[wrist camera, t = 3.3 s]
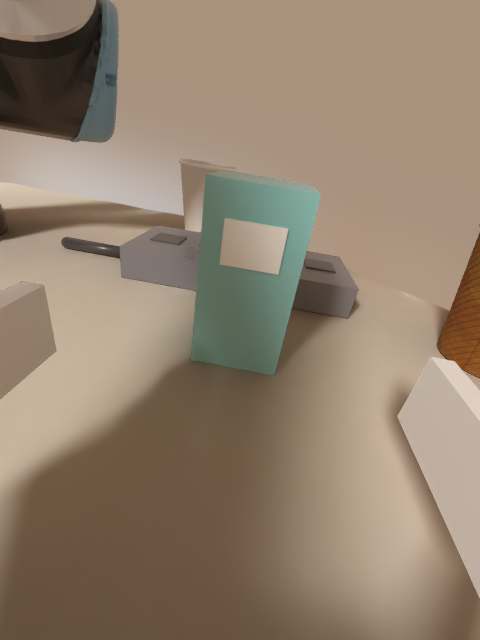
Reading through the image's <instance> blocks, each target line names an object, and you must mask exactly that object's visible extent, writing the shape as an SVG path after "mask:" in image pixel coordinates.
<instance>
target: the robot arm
mask: <svg viewBox="0 0 480 640" xmlns="http://www.w3.org/2000/svg"><path fill="white" fill-rule="evenodd" d="M117 69H118V11H117V8H116V6H115V4H113V3H112V2H111V1H109V0H0V129H4V130H10V131H16V132H22V133H28V134H34V135H40V136H46V137H53V138H58V139H64V140H70V141H72V142H79V141H88V142H99V143H101V142H106V141H108V140H109V139H110V138H111V137H112V135H113V133H114V128H115V119H116V103H117ZM6 229H7V223H6V219H5V215H4V211H3V208H2V206H1V204H0V234H1V233H3V232H4V231H6ZM56 351H57V350H56V345H55V340H54V335H53V329H52V324H51V319H50V313H49V308H48V303H47V298H46V292H45V287H44V285H41V284H35V283H30V282H25V281H22V282H20V283H18V284H16V285H13V286H11V287H9V288H7V289H5V290H3V291H1V292H0V399H1V398H3V397H4V396H5V395H6V394H7V393H8V392H9V391H11V390H12V389H13V388H14V387H15V386H16V385H18V384H19V383H20V382H21V381H22V380H23V379H25V378H26V377H27V376H28V375H29V374H30V373H31V372H33V371H34V370H35V369H36V368H37V367H38V366H40V365H41V364H42V363H43V362H44V361H45V360H47V359H48V358H49V357H50V356H51V355H52V354H54V353H55V352H56ZM397 417H398V419H399V422H400V424H401V426H402V428H403V430H404V433H405V435H406V437H407V439H408V441H409V444H410V446H411V448H412V450H413V453H414V455H415V457H416V459H417V461H418V464H419V466H420V468H421V470H422V472H423V475H424V477H425V479H426V481H427V483H428V486H429V488H430V490H431V492H432V495H433V497H434V499H435V501H436V503H437V506H438V508H439V510H440V512H441V514H442V517H443V519H444V521H445V523H446V525H447V528H448V530H449V532H450V534H451V537H452V539H453V541H454V543H455V545H456V548H457V550H458V552H459V554H460V556H461V559H462V561H463V563H464V565H465V567H466V570H467V572H468V574H469V576H470V578H471V581H472V583H473V585H474V587H475V590H476V592H477V594H478V596H479V598H480V390H479V389H478V388H477V387H476V386H475V385H474V383H473V382H472V381H471V380H470V379H469V378H468V376H467V375H466V374H465V373H464V372H463V371H462V369H461V368H460V367H459V366H458V365H457V364H456V362H455V361H451V360H445V359H440V358H435V357H430V359H429V361H428V363H427V364H426V366H425V368H424V370H423V372H422V373H421V375H420V377H419V379H418V380H417V382H416V384H415V386H414V388H413V389H412V391H411V393H410V395H409V396H408V398H407V400H406V402H405V404H404V405H403V407H402V409H401V411H400V412H399V414H398V416H397Z"/></svg>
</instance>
